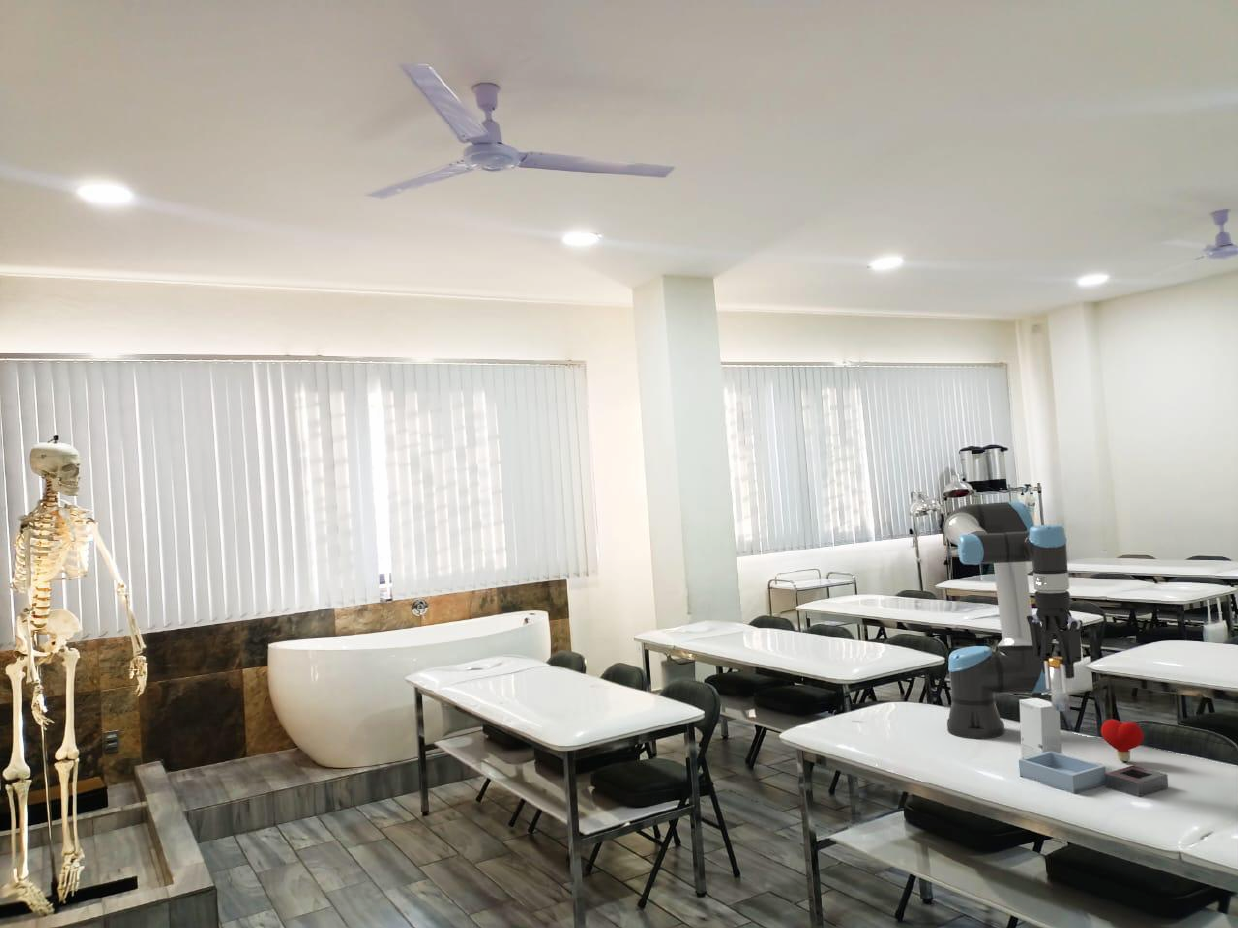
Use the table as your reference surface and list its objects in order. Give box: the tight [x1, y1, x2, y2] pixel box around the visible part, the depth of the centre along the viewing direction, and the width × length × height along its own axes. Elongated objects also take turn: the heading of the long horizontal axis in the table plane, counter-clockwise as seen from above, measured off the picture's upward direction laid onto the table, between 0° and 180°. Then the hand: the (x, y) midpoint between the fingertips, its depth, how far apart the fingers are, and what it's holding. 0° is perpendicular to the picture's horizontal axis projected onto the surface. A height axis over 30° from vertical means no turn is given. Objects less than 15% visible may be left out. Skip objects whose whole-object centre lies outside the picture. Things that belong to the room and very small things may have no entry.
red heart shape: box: [1100, 718, 1144, 763], centre depth 216 cm, size 9×7×10 cm
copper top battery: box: [1049, 656, 1070, 712], centre depth 207 cm, size 4×4×12 cm
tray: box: [1018, 751, 1107, 795], centre depth 206 cm, size 15×11×4 cm
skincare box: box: [1018, 697, 1063, 759], centre depth 221 cm, size 8×6×15 cm
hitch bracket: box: [1105, 764, 1169, 798], centre depth 199 cm, size 8×10×3 cm
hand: (1059, 689), depth 207 cm, fingers closed on copper top battery, 4 cm apart
